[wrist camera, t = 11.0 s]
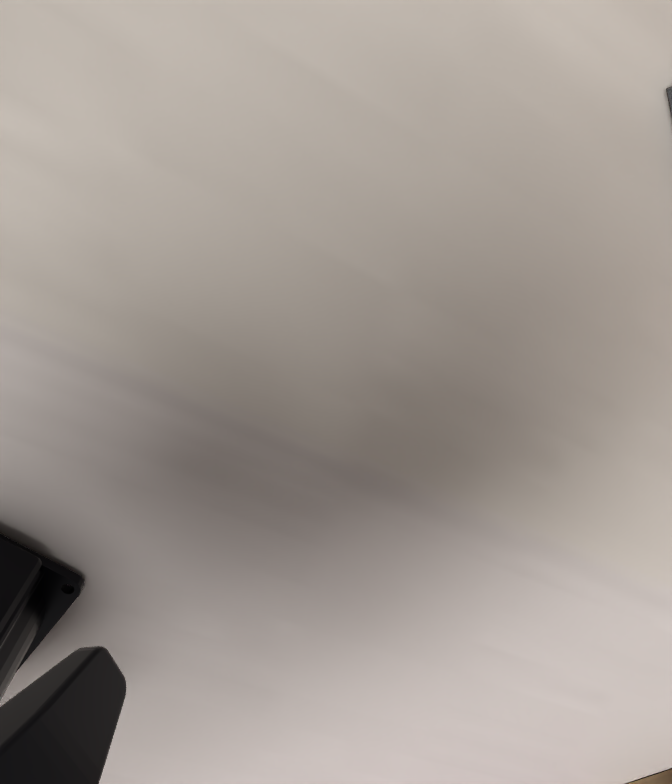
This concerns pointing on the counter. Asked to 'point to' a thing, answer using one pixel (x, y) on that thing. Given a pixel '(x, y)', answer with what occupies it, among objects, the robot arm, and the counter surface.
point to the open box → (656, 778)
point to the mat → (670, 96)
